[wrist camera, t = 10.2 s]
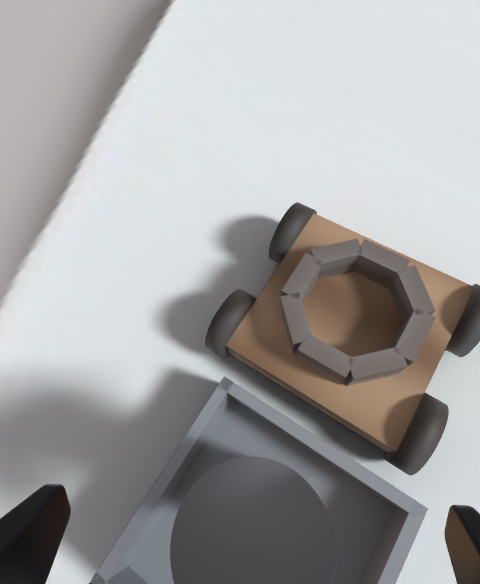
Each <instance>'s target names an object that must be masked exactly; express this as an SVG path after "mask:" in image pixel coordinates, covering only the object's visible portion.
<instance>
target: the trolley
mask: <svg viewBox="0 0 480 584" xmlns="http://www.w3.org/2000/svg"><path fill="white" fill-rule="evenodd" d="M269 258H270V259H272V260H274V261H276V262H277V263H279V264H280V265H279V266H278V268H277V269H276V271H275V272H274V274H273V275H272V277H271V278H270V280H269V281H268V283H267V284H266V286H265V287H264V289H263V290H262V292H261V293H260V295H259V296H258V298H255V297H253V296H252V295H250V294H248V293H246V292H245V291H243V290H240V289H239V290H236V291H235V292H233V293H232V294H231V295H230V296H229V297H228V298H227V299H226V300H225V302H224V303H223V304H222V305H221V307H220V308H219V310H218V311H217V313H216V315H215V316H214V318H213V320H212V322H211V324H210V327H209V329H208V332H207V335H206V340H205V344H206V347H207V348H209V349H211V350H212V351H214V352H215V353H217V354H218V355H220V356H222V357H223V358H228V357H229V356H231V355H232V356H234V357H235V358H237V359H239V360H240V361H242V362H243V363H245V364H247V365H248V366H250V367H251V368H253V369H255V370H256V371H258V372H259V373H261V374H263V375H264V376H266V377H267V378H269V379H271V380H272V381H274V382H275V383H277V384H279V385H280V386H282V387H283V388H285V389H287V390H288V391H290V392H291V393H293V394H295V395H296V396H298V397H299V398H301V399H303V400H304V401H306V402H307V403H309V404H311V405H312V406H314V407H315V408H317V409H319V410H320V411H322V412H323V413H325V414H327V415H328V416H330V417H331V418H333V419H335V420H336V421H338V422H339V423H341V424H343V425H344V426H346V427H347V428H349V429H351V430H352V431H354V432H355V433H357V434H359V435H360V436H362V437H363V438H365V439H367V440H368V441H370V442H371V443H373V444H375V445H376V446H378V447H379V448H381V449H383V450H384V451H385V455H384V457H385V460H386V461H388V462H389V463H391V464H392V465H394V466H395V467H397V468H399V469H400V470H402V471H403V472H405V473H406V474H408V475H414V474H415V473H417V472H418V471H419V470H420V469H421V468H422V467H423V466H424V465H425V464H426V462H427V461H428V460H429V458H430V457H431V455H432V454H433V452H434V450H435V448H436V447H437V445H438V443H439V441H440V439H441V437H442V434H443V432H444V429H445V426H446V423H447V419H448V412H449V411H448V406H447V405H446V404H444V403H443V402H441V401H439V400H437V399H435V398H434V397H432V396H430V395H428V394H427V393H425V391H426V388H427V386H428V384H429V382H430V380H431V378H432V376H433V374H434V372H435V370H436V368H437V365H438V363H439V361H440V359H441V357H442V355H443V353H444V351H445V350H447V351H449V352H451V353H453V354H455V355H457V356H459V357H463V356H465V355H467V354H468V353H469V352H470V351H471V350H472V349H473V348H474V347H475V346H476V345H477V344H478V343H479V341H480V286H479V285H477V284H474V285H473V286H471V285H469V284H466V283H464V282H462V281H460V280H458V279H455V278H453V277H451V276H449V275H447V274H445V273H442V272H440V271H438V270H436V269H434V268H432V267H429V266H427V265H425V264H423V263H421V262H419V261H416V260H414V259H412V258H410V257H408V256H406V255H403V254H401V253H399V252H397V251H395V250H392V249H390V248H388V247H386V246H384V245H382V244H379V243H377V242H375V241H373V240H371V239H369V238H366V237H364V236H362V235H360V234H358V233H356V232H353V231H351V230H349V229H347V228H345V227H343V226H340V225H338V224H336V223H334V222H332V221H329V220H327V219H325V218H323V217H321V216H319V215H317V212H316V211H315V210H313V209H311V208H309V207H307V206H305V205H302V204H300V203H295V204H293V205H292V206H291V207H290V208H289V209H288V211H287V212H286V213H285V215H284V216H283V218H282V219H281V221H280V223H279V225H278V227H277V229H276V231H275V233H274V236H273V238H272V241H271V244H270V249H269Z"/></svg>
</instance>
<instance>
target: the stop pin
mask: <svg viewBox="0 0 480 584" xmlns="http://www.w3.org/2000/svg"><path fill="white" fill-rule="evenodd" d="M170 563H171V571H172V577H173V581H174V584H335V579H336V571H337V547H336V539H335V534H334V530H333V526H332V523H331V520H330V517H329V515H328V513H327V510H326V508H325V506H324V504H323V502H322V501H321V499H320V498H319V496H318V494H317V493H316V492H315V490H314V489H313V488H312V487H311V485H310V484H309V483H308V482H307V481H306V480H305V479H304V478H303V477H302V476H301V475H299V474H298V473H297V472H296V471H294V470H293V469H291V468H290V467H288V466H286V465H285V464H282V463H280V462H278V461H275V460H272V459H268V458H262V457H241V458H235V459H231V460H228V461H225V462H223V463H221V464H219V465H217V466H215V467H213V468H212V469H210V470H209V471H207V472H206V473H205V474H204V475H203V476H201V477H200V478H199V479H198V480H197V481H196V483H195V484H194V485H193V486H192V487H191V488H190V490H189V491H188V493H187V494H186V496H185V497H184V499H183V501H182V503H181V505H180V507H179V510H178V512H177V515H176V517H175V521H174V525H173V528H172V535H171V541H170Z"/></svg>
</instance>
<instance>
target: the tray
mask: <svg viewBox="0 0 480 584" xmlns="http://www.w3.org/2000/svg"><path fill="white" fill-rule="evenodd" d="M241 457H262V458H268V459H272V460H275V461H278V462H280V463H282V464H285V465H286V466H288V467H290V468H291V469H293V470H294V471H296V472H297V473H298V474H299V475H301V476H302V477H303V478H304V479H305V480H306V481H307V482H308V483H309V484H310V485H311V487H312V488H313V489H314V490H315V492H316V493H317V494H318V496H319V498H320V499H321V501H322V502H323V504H324V506H325V508H326V510H327V513H328V515H329V517H330V520H331V523H332V526H333V530H334V534H335V539H336V547H337V571H336V579H335V584H395V583H396V581H397V579H398V577H399V574H400V572H401V570H402V567H403V565H404V563H405V560H406V558H407V556H408V553H409V551H410V549H411V546H412V544H413V542H414V540H415V537H416V535H417V533H418V530H419V528H420V526H421V523H422V521H423V519H424V516H425V514H426V512H427V509H428V508H426V507H425V506H423V505H422V504H420V503H418V502H417V501H415V500H414V499H412V498H411V497H409V496H408V495H406V494H405V493H403V492H402V491H400V490H398V489H397V488H395V487H394V486H392V485H391V484H389V483H388V482H386V481H385V480H383V479H382V478H380V477H378V476H377V475H375V474H374V473H372V472H371V471H369V470H368V469H366V468H365V467H363V466H361V465H360V464H358V463H357V462H355V461H354V460H352V459H351V458H349V457H348V456H346V455H345V454H343V453H341V452H340V451H338V450H337V449H335V448H334V447H332V446H331V445H329V444H328V443H326V442H325V441H323V440H321V439H320V438H318V437H317V436H315V435H314V434H312V433H311V432H309V431H308V430H306V429H305V428H303V427H301V426H300V425H298V424H297V423H295V422H294V421H292V420H291V419H289V418H288V417H286V416H285V415H283V414H281V413H280V412H278V411H277V410H275V409H274V408H272V407H271V406H269V405H268V404H266V403H265V402H263V401H261V400H260V399H258V398H257V397H255V396H254V395H252V394H251V393H249V392H248V391H246V390H245V389H243V388H241V387H240V386H238V385H237V384H235V383H234V382H232V381H231V380H229V379H228V378H226V377H223V379H222V380H221V382H220V383H219V385H218V386H217V388H216V389H215V391H214V393H213V394H212V396H211V397H210V399H209V400H208V402H207V403H206V405H205V406H204V408H203V409H202V411H201V413H200V414H199V416H198V417H197V419H196V420H195V422H194V423H193V425H192V426H191V428H190V429H189V431H188V432H187V434H186V436H185V437H184V439H183V440H182V442H181V443H180V445H179V446H178V448H177V449H176V451H175V452H174V454H173V456H172V457H171V459H170V460H169V462H168V463H167V465H166V466H165V468H164V469H163V471H162V472H161V474H160V475H159V477H158V479H157V480H156V482H155V483H154V485H153V486H152V488H151V489H150V491H149V492H148V494H147V495H146V497H145V499H144V500H143V502H142V503H141V505H140V506H139V508H138V509H137V511H136V512H135V514H134V515H133V517H132V518H131V520H130V522H129V523H128V525H127V526H126V528H125V529H124V531H123V532H122V534H121V535H120V537H119V538H118V540H117V542H116V543H115V545H114V546H113V548H112V549H111V551H110V552H109V554H108V555H107V557H106V558H105V560H104V561H103V563H102V565H101V566H100V568H99V569H98V571H97V572H96V574H95V575H94V577H93V578H92V580H91V581H90V583H89V584H174V581H173V577H172V571H171V563H170V541H171V535H172V528H173V525H174V521H175V517H176V515H177V512H178V510H179V507H180V505H181V503H182V501H183V499H184V497H185V496H186V494H187V493H188V491H189V490H190V488H191V487H192V486H193V485H194V484H195V483H196V481H197V480H198V479H199V478H200V477H201V476H203V475H204V474H205V473H206V472H207V471H209V470H210V469H212V468H213V467H215V466H217V465H219V464H221V463H223V462H225V461H228V460H231V459H235V458H241Z"/></svg>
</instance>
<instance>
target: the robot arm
mask: <svg viewBox="0 0 480 584" xmlns="http://www.w3.org/2000/svg"><path fill="white" fill-rule="evenodd" d="M70 512H71V510H70V504H69V501H68V498H67V494H66V491H65V488H64V486H63V485H61V484H46V485H44V486H42V487H41V488H40V489H38V490H37V491H36V492H34V493H33V494H32V495H31V496H29V497H28V498H27V499H25V500H24V501H23V502H22V503H20V504H19V505H18V506H16V507H15V508H14V509H12V510H11V511H10V512H9V513H7V514H6V515H5V516H3V517H2V518H1V519H0V584H45V583H46V581H47V578H48V575H49V573H50V570H51V567H52V564H53V562H54V559H55V556H56V554H57V551H58V548H59V545H60V543H61V540H62V537H63V534H64V532H65V529H66V526H67V524H68V521H69V518H70ZM445 540H446V545H447V548H448V552H449V556H450V559H451V563H452V566H453V570H454V574H455V577H456V581H457V584H480V514H479V513H478V512H477V511H476V510H475V509H474V508H472V507H470V506H464V505H452V506H451V507H450V509H449V513H448V518H447V522H446V527H445Z"/></svg>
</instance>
